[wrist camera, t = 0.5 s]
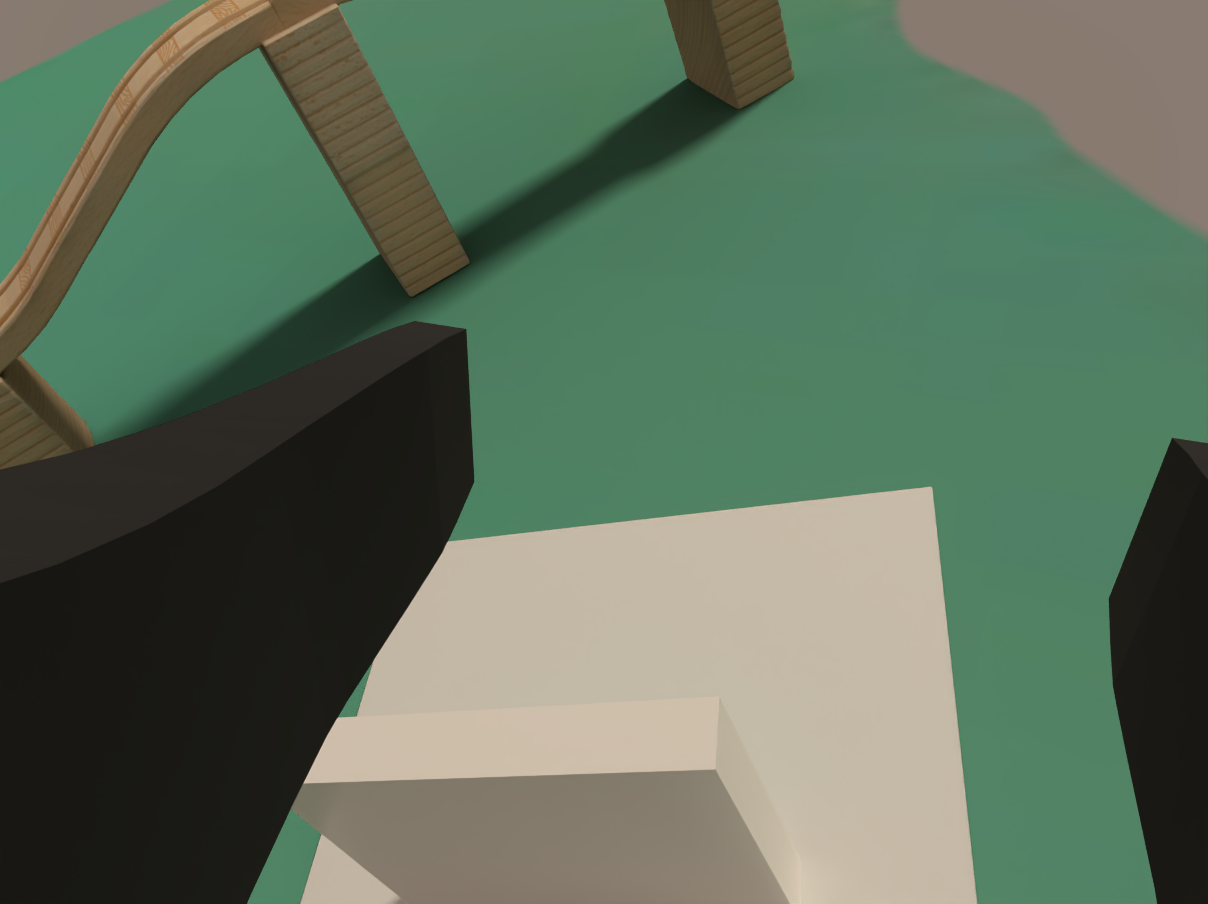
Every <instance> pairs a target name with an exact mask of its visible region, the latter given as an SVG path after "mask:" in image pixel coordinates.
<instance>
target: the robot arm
mask: <svg viewBox="0 0 1208 904" xmlns="http://www.w3.org/2000/svg"><path fill="white" fill-rule="evenodd" d="M473 483H474V467H473V448H472V429H471V410H470V391H469V372H468V353H467V334H466V329H462V328H456V327H449V326H443V325H436V324H430V323H423V322H417V321H414V322H411V323H407V324H404V325H401V326H398V327H395V328H393V329H390V330H387V331H385V332H382V333H380V334H378V335H375V336H373V337H370V338H368V339H366V340H363V341H361V342H359V343H357V344H354V345H352V346H350V347H348V348H345V349H343V350H341V351H339V352H336V353H334V354H332V355H330V356H327V357H325V358H323V359H321V360H318V361H316V362H314V363H312V364H309V365H307V366H305V367H303V368H300V369H298V370H296V371H294V372H291V373H289V374H287V375H285V376H282V377H280V378H278V379H276V380H273V381H271V382H269V383H266V384H264V385H262V386H259V387H257V388H254V389H252V390H249V391H247V392H244V393H242V394H239V395H237V396H234V397H232V398H229V399H227V400H224V401H222V402H219V403H217V404H214V405H212V406H209V407H207V408H204V409H202V410H199V411H197V412H194V413H192V414H189V415H186V416H184V417H181V418H178V419H176V420H173V421H170V422H167V423H165V424H162V425H159V426H156V427H153V428H150V429H147V430H144V431H141V432H138V433H135V434H132V435H128V436H125V437H122V438H118V439H115V440H112V441H109V442H105V443H102V444H99V445H95V446H92V447H89V448H86V449H82V450H78V451H75V452H71V453H67V454H64V455H60V456H55V457H51V458H47V459H43V460H38V461H34V462H30V463H26V464H21V465H17V466H13V467H9V468H4V469H0V904H247V902H248V900H249V897H250V895H251V893H252V891H253V889H254V887H255V884H256V882H257V880H258V878H259V876H260V874H261V871H262V869H263V867H264V865H265V863H266V861H267V859H268V856H269V854H270V852H271V850H272V848H273V846H274V844H275V841H276V839H277V837H278V835H279V833H280V831H281V828H282V826H283V824H284V822H285V820H286V818H287V816H288V813H289V811H290V809H291V807H292V805H293V803H294V801H295V799H296V797H297V795H298V793H299V791H300V789H301V787H302V785H303V783H304V781H305V779H306V777H307V775H308V773H309V771H310V769H311V767H312V765H313V763H314V761H315V759H316V757H317V755H318V753H319V751H320V749H321V747H322V745H323V743H324V741H325V739H326V737H327V735H328V733H329V732H330V730H331V728H332V726H333V725H334V723H335V721H336V720H337V718H338V716H339V714H340V713H341V711H342V709H343V708H344V706H345V704H346V702H347V701H348V699H349V698H350V696H351V695H352V693H353V691H354V690H355V688H356V687H357V685H358V684H359V682H360V681H361V679H362V678H363V676H364V674H365V673H366V671H367V670H368V668H369V667H370V665H371V664H372V662H373V661H374V659H375V657H376V656H377V654H378V653H379V651H380V650H381V648H382V647H383V645H384V644H385V642H386V640H387V639H388V637H389V636H390V634H391V633H392V631H393V630H394V628H395V627H396V625H397V624H398V622H399V620H400V619H401V617H402V616H403V614H404V613H405V611H406V610H407V608H408V607H409V605H410V603H411V602H412V600H413V599H414V597H415V596H416V594H417V592H418V591H419V589H420V588H421V586H422V584H423V583H424V581H425V580H426V578H427V577H428V575H429V573H430V572H431V570H432V569H433V567H434V565H435V564H436V562H437V561H438V559H439V557H440V556H441V554H442V552H443V550H444V548H445V546H446V544H447V542H448V540H449V538H450V535H451V533H452V531H453V529H454V527H455V525H456V523H457V521H458V518H459V516H460V514H461V511H462V509H463V507H464V504H465V502H466V500H467V497H468V495H469V493H470V490H471V488H472V486H473ZM1109 618H1110V646H1111V662H1112V677H1113V688H1114V694H1115V699H1116V704H1117V710H1118V715H1119V720H1120V725H1121V730H1122V735H1123V740H1124V744H1125V749H1126V754H1127V759H1128V764H1129V769H1130V774H1131V778H1132V783H1133V788H1134V793H1135V797H1136V802H1137V807H1138V811H1139V816H1140V821H1141V826H1142V830H1143V835H1144V840H1145V845H1146V849H1147V854H1148V859H1149V864H1150V868H1151V873H1152V878H1153V883H1154V887H1155V893H1156V899H1157V904H1208V443H1202V442H1196V441H1189V440H1183V439H1176V438H1172V439H1171V442H1170V445H1169V447H1168V450H1167V452H1166V455H1165V457H1164V460H1163V462H1162V465H1161V467H1160V470H1159V473H1158V475H1157V478H1156V480H1155V483H1154V485H1153V488H1152V490H1151V493H1150V495H1149V498H1148V500H1147V503H1146V506H1145V508H1144V511H1143V513H1142V516H1141V518H1140V521H1139V523H1138V526H1137V528H1136V531H1135V534H1134V536H1133V539H1132V541H1131V544H1130V546H1129V549H1128V551H1127V554H1126V556H1125V559H1124V561H1123V564H1122V567H1121V569H1120V572H1119V574H1118V577H1117V579H1116V582H1115V584H1114V587H1113V589H1112V592H1111V595H1110V597H1109Z"/></svg>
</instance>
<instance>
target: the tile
mask: <svg viewBox="0 0 1208 904" xmlns="http://www.w3.org/2000/svg"><path fill="white" fill-rule="evenodd" d="M291 810H292V811H294V812H295V813H296V814H297V815H299V816H300V817H301V818H302V819H304V820H305V821H306V822H307V823H309V824H310V825H311V826H312V827H313V828H315V829H316V830H317V831H318V832H320V833H321V834H322V835H323V836H325V837H326V838H327V839H328V840H330V841H331V842H332V843H333V844H335V845H336V846H337V847H338V848H340V849H341V850H342V851H343V852H344V853H346V854H347V855H348V856H349V857H351V858H352V859H353V860H354V861H356V862H357V863H358V864H359V865H361V866H362V867H363V868H364V869H366V870H367V871H368V872H369V873H370V874H372V875H373V876H374V877H375V878H377V879H378V880H379V881H380V882H382V883H383V884H384V885H385V886H387V887H388V888H389V889H390V890H392V891H393V892H394V893H395V894H397V895H398V896H399V897H400V898H401V899H403V900H404V901H405V902H406V903H408V904H800V857H799V855H798V853H797V851H796V849H795V847H794V845H793V843H792V841H791V839H790V837H789V835H788V833H787V831H786V829H785V827H784V825H783V823H782V821H781V819H780V817H779V815H778V813H777V811H776V809H775V807H774V805H773V803H772V801H771V799H770V797H769V795H768V793H767V791H766V789H765V787H764V785H763V783H762V781H761V779H760V777H759V775H758V773H757V771H756V769H755V767H754V765H753V763H752V761H751V759H750V757H749V755H748V753H747V751H746V749H745V747H744V745H743V743H742V741H741V739H740V737H739V735H738V733H737V731H736V729H735V727H734V725H733V723H732V721H731V719H730V717H729V715H728V712H727V710H726V708H725V706H724V704H723V702H722V700H721V698H720V696H716V697H698V698H680V699H663V700H645V701H627V702H609V703H592V704H574V705H556V706H539V707H521V708H503V709H486V710H468V711H450V712H432V713H415V714H397V715H379V716H362V717H344V718H337V720H336V721H335V723H334V725H333V726H332V728H331V730H330V732H329V733H328V735H327V737H326V739H325V741H324V743H323V745H322V747H321V749H320V751H319V753H318V755H317V757H316V759H315V761H314V763H313V765H312V767H311V769H310V771H309V773H308V775H307V777H306V779H305V781H304V783H303V785H302V787H301V789H300V791H299V793H298V795H297V797H296V799H295V801H294V803H293V805H292V807H291Z"/></svg>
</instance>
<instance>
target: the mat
mask: <svg viewBox="0 0 1208 904" xmlns="http://www.w3.org/2000/svg"><path fill="white" fill-rule="evenodd" d="M716 696H720V698H721V700H722V702H723V704H724V706H725V708H726V710H727V712H728V715H729V717H730V719H731V721H732V723H733V725H734V727H735V729H736V731H737V733H738V735H739V737H740V739H741V741H742V743H743V745H744V747H745V749H746V751H747V753H748V755H749V757H750V759H751V761H752V763H753V765H754V767H755V769H756V771H757V773H758V775H759V777H760V779H761V781H762V783H763V785H764V787H765V789H766V791H767V793H768V795H769V797H770V799H771V801H772V803H773V805H774V807H775V809H776V811H777V813H778V815H779V817H780V819H781V821H782V823H783V825H784V827H785V829H786V831H787V833H788V835H789V837H790V839H791V841H792V843H793V845H794V847H795V849H796V851H797V853H798V855H799V857H800V904H977V897H976V887H975V878H974V869H973V860H972V850H971V841H970V832H969V823H968V813H967V804H966V795H965V786H964V776H963V767H962V758H961V749H960V739H959V730H958V721H957V712H956V702H955V693H954V684H953V675H952V665H951V656H950V647H949V638H948V628H947V619H946V610H945V601H944V591H943V582H942V573H941V564H940V554H939V545H938V536H937V527H936V517H935V508H934V499H933V491H932V487H925V488H916V489H908V490H899V491H890V492H881V493H872V494H864V495H855V496H846V497H837V498H829V499H820V500H811V501H802V502H793V503H785V504H776V505H767V506H758V507H749V508H741V509H732V510H723V511H714V512H706V513H697V514H688V515H679V516H670V517H662V518H653V519H644V520H635V521H626V522H618V523H609V524H600V525H591V526H583V527H574V528H565V529H556V530H547V531H539V532H530V533H521V534H512V535H503V536H495V537H486V538H477V539H468V540H460V541H451V542H447V544H446V546H445V548H444V550H443V552H442V554H441V556H440V557H439V559H438V561H437V562H436V564H435V565H434V567H433V569H432V570H431V572H430V573H429V575H428V577H427V578H426V580H425V581H424V583H423V584H422V586H421V588H420V589H419V591H418V592H417V594H416V596H415V597H414V599H413V600H412V602H411V603H410V605H409V607H408V608H407V610H406V611H405V613H404V614H403V616H402V617H401V619H400V620H399V622H398V624H397V625H396V627H395V628H394V630H393V631H392V633H391V634H390V636H389V637H388V639H387V640H386V642H385V644H384V645H383V647H382V648H381V650H380V651H379V653H378V654H377V656H376V657H375V659H374V661H373V665H372V668H371V671H370V675H369V678H368V681H367V684H366V688H365V691H364V694H363V698H362V701H361V704H360V708H359V711H358V714H357V717H362V716H379V715H397V714H415V713H432V712H450V711H468V710H486V709H503V708H521V707H539V706H556V705H574V704H592V703H609V702H627V701H645V700H663V699H680V698H698V697H716ZM301 904H408V903H406V902H405V901H404V900H403V899H401V898H400V897H399V896H398V895H397V894H395V893H394V892H393V891H392V890H390V889H389V888H388V887H387V886H385V885H384V884H383V883H382V882H380V881H379V880H378V879H377V878H375V877H374V876H373V875H372V874H370V873H369V872H368V871H367V870H366V869H364V868H363V867H362V866H361V865H359V864H358V863H357V862H356V861H354V860H353V859H352V858H351V857H349V856H348V855H347V854H346V853H344V852H343V851H342V850H341V849H340V848H338V847H337V846H336V845H335V844H333V843H332V842H331V841H330V840H328V839H327V838H326V837H325V836H323V835H322V834H321V837H320V841H319V844H318V847H317V851H316V854H315V857H314V861H313V864H312V867H311V871H310V874H309V877H308V881H307V884H306V887H305V891H304V894H303V897H302V900H301Z"/></svg>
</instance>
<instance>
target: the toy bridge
mask: <svg viewBox="0 0 1208 904" xmlns="http://www.w3.org/2000/svg"><path fill="white" fill-rule="evenodd" d="M348 1H352V0H209V1H208V2H206V3H204V4H203V5H201V6H200V7H198V8H196V9H195V10H193V11H191V12H190V13H188V14H187V15H186V16H184V17H183V18H181V19H180V20H179V21H177V22H176V23H174V24H173V25H172V26H171V27H170V28H169V29H168V30H166V31H165V32H164V33H163V34H162V35H161V36H160V37H159V38H158V39H157V40H155V41H154V42H153V43H152V44H151V45H150V46H149V47H148V48H147V49H146V50H145V51H144V52H143V53H142V55H141V56H140V57H139V58H138V59H137V60H136V62H135V63H134V64H133V65H132V66H131V68H130V69H129V70H128V71H127V72H126V74H125V75H124V77H123V78H122V79H121V81H120V82H119V84H118V85H117V86H116V88H115V90H114V91H113V93H112V94H111V96H110V97H109V99H108V101H107V102H106V104H105V106H104V108H103V110H102V112H101V113H100V115H99V117H98V119H97V121H96V123H95V124H94V126H93V128H92V130H91V132H90V133H89V135H88V137H87V139H86V141H85V143H84V144H83V146H82V148H81V150H80V152H79V154H78V155H77V157H76V159H75V160H74V162H73V164H72V165H71V167H70V169H69V171H68V173H67V174H66V176H65V178H64V180H63V182H62V184H61V185H60V187H59V189H58V191H57V193H56V194H55V196H54V198H53V200H52V202H51V204H50V205H49V207H48V209H47V211H46V213H45V215H44V216H43V218H42V220H41V222H40V224H39V226H38V227H37V229H36V231H35V233H34V235H33V237H32V238H31V240H30V242H29V244H28V246H27V248H26V249H25V251H24V253H23V255H22V257H21V258H20V259H19V261H18V262H17V263H16V265H15V266H14V267H13V269H12V270H11V271H10V273H9V274H8V275H7V277H6V278H5V279H4V280H3V282H2V283H1V284H0V469H4V468H9V467H13V466H17V465H21V464H26V463H30V462H34V461H38V460H43V459H47V458H51V457H55V456H60V455H64V454H67V453H71V452H75V451H78V450H82V449H86V448H89V447H92V446H95V445H94V441H93V438H92V434H91V432H90V431H89V429H88V427H87V423H86V422H85V421H84V420H83V419H82V418H81V417H80V416H79V415H78V414H77V413H76V411H75V410H74V409H73V408H72V407H70V406H69V404H68V403H67V402H66V401H65V400H64V399H63V398H61V397H60V396H59V395H58V393H57V392H56V391H55V390H54V389H53V388H52V387H51V386H50V385H49V384H48V382H47V381H46V380H44V379H43V378H42V377H41V376H40V375H39V374H38V373H37V372H36V370H35V369H34V368H33V367H32V366H31V365H30V364H29V363H28V362H27V361H26V360H25V359H24V358H23V357H22V356H21V354H22V353H23V352H24V351H25V350H26V349H27V348H28V346H29V345H30V344H31V343H32V342H33V341H34V339H35V338H36V337H37V336H38V335H39V334H40V332H41V331H42V330H43V329H44V328H45V326H46V325H47V323H48V322H49V320H50V319H51V317H52V316H53V314H54V313H55V311H56V310H57V308H58V307H59V305H60V304H61V302H62V300H63V299H64V297H65V295H66V293H67V292H68V290H69V288H70V287H71V285H72V283H73V281H74V280H75V278H76V276H77V274H78V272H79V271H80V269H81V267H82V265H83V264H84V262H85V260H86V258H87V256H88V255H89V253H90V252H91V250H92V249H93V247H94V245H95V244H96V242H97V240H98V238H99V237H100V235H101V233H102V232H103V230H104V228H105V226H106V225H107V223H108V221H109V219H110V218H111V216H112V214H113V213H114V211H115V209H116V207H117V206H118V204H119V202H120V200H121V199H122V197H123V195H124V193H125V192H126V190H127V188H128V187H129V185H130V183H131V181H132V180H133V178H134V176H135V174H136V173H137V171H138V169H139V167H140V166H141V164H142V162H143V160H144V159H145V157H146V155H147V154H148V152H149V150H150V148H151V147H152V145H153V144H154V142H155V141H156V140H157V138H158V137H159V136H160V134H161V133H162V131H163V130H164V129H165V127H166V126H167V125H168V123H169V122H170V121H171V119H172V118H173V117H174V116H175V115H176V114H177V113H178V111H179V110H180V109H181V108H182V107H183V106H184V105H185V103H186V102H187V101H188V100H189V99H190V98H191V97H192V96H193V95H194V94H195V93H196V92H198V91H199V90H200V89H201V88H202V87H203V86H204V85H205V84H206V83H208V82H209V81H210V80H211V79H212V78H214V77H215V76H216V75H217V74H218V73H220V72H221V71H222V70H224V69H225V68H227V67H228V66H230V65H231V64H233V63H234V62H236V61H237V60H239V59H240V58H242V57H243V56H245V55H247V54H248V53H250V52H252V51H253V50H255V49H257V48H259V49H260V51H261V53H262V54H263V56H264V58H265V60H266V61H267V63H268V65H269V66H270V68H271V70H272V72H273V73H274V75H275V76H276V78H277V80H278V81H279V83H280V85H281V87H282V88H283V90H284V92H285V93H286V95H287V97H288V99H289V100H290V102H291V104H292V105H293V107H294V109H295V110H296V112H297V114H298V116H299V117H300V119H301V121H302V122H303V124H304V126H305V127H306V129H307V131H308V133H309V134H310V136H311V138H312V139H313V141H314V142H315V144H316V145H317V147H318V149H319V150H320V152H321V154H322V156H323V157H324V159H325V161H326V162H327V164H328V166H329V167H330V169H331V171H332V173H333V174H334V176H335V178H336V179H337V181H338V183H339V184H340V186H341V188H342V189H343V191H344V193H345V195H346V196H347V198H348V200H349V202H350V203H351V205H352V207H353V208H354V210H355V212H356V213H357V215H358V217H359V219H360V220H361V222H362V224H363V225H364V227H365V229H366V231H367V232H368V234H369V236H370V237H371V239H372V241H373V243H374V244H375V246H376V248H377V250H378V251H379V253H380V254H381V255H382V257H383V259H384V260H385V262H386V263H387V265H388V266H389V267H390V269H391V270H392V272H393V273H394V275H395V276H396V278H397V279H398V281H399V282H400V284H401V285H402V287H403V288H404V289H405V291H406V292H407V293H408V295H409V296H410V297H413V296H415V295H416V294H418V293H420V292H422V291H423V290H425V289H427V288H428V287H430V286H432V285H434V284H435V283H437V282H439V281H440V280H442V279H444V278H446V277H447V276H449V275H451V274H452V273H454V272H456V271H458V270H459V269H461V268H463V267H465V266H466V265H468V264H469V262H470V261H469V259H468V257H467V255H466V253H465V251H464V249H463V247H462V245H461V243H460V242H459V240H458V238H457V236H456V234H455V232H454V230H453V228H452V226H451V224H450V222H449V220H448V218H447V216H446V214H445V212H444V210H443V209H442V207H441V205H440V203H439V201H438V199H437V197H436V195H435V193H434V191H433V189H432V187H431V185H430V183H429V181H428V179H427V177H426V175H425V173H424V172H423V170H422V168H421V166H420V164H419V162H418V160H417V158H416V156H415V154H414V152H413V150H412V149H411V147H410V145H409V142H408V140H407V138H406V136H405V135H404V133H403V131H402V129H401V127H400V125H399V123H398V121H397V119H396V117H395V115H394V113H393V111H392V109H391V107H390V106H389V104H388V102H387V100H386V98H385V96H384V94H383V92H382V90H381V88H380V86H379V84H378V82H377V80H376V78H375V76H374V75H373V73H372V71H371V69H370V67H369V65H368V63H367V61H366V59H365V57H364V55H363V53H362V52H361V50H360V48H359V45H358V43H357V41H356V39H355V37H354V35H353V34H352V32H351V30H350V28H349V26H348V24H347V22H346V20H345V19H344V17H343V15H342V13H341V10H340V8H339V4H342V3H345V2H348ZM664 1H665V4H666V7H667V10H668V15H669V18H670V21H671V24H672V28H673V31H674V34H675V38H676V42H677V44H678V48H679V51H680V54H681V57H682V61H683V64H684V67H685V73H686V75H687V78H688V79H689V80H691V81H692V82H693V83H695V84H696V85H698V86H700V87H701V88H703V89H705V90H706V91H708V92H710V93H711V94H713V95H715V96H716V97H718V98H720V99H721V100H723V101H725V102H726V103H728V104H729V105H731V106H733V107H735V108H737V109H742V108H743V107H745V106H747V105H749V104H750V103H752V102H754V101H756V100H757V99H759V98H761V97H763V96H765V95H766V94H768V93H770V92H772V91H773V90H775V89H777V88H779V87H780V86H782V85H784V84H786V83H787V82H789V81H791V80H792V79H793V78H794V71H793V69H792V62H791V58H790V56H789V48H788V45H787V42H786V34H785V31H784V25H783V21H782V18H781V9H780V6H779V3H778V0H664Z"/></svg>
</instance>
